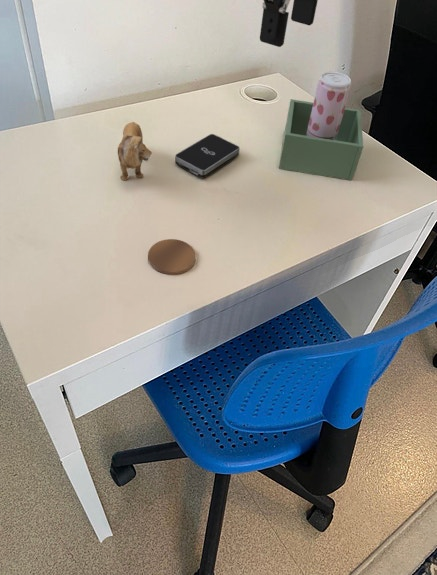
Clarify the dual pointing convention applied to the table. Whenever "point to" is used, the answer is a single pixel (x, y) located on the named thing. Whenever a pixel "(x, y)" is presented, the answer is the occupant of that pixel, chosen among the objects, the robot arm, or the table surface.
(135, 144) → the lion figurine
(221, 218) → the table surface
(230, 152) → the external hard drive
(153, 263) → the coaster
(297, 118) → the crate
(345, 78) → the beverage can
